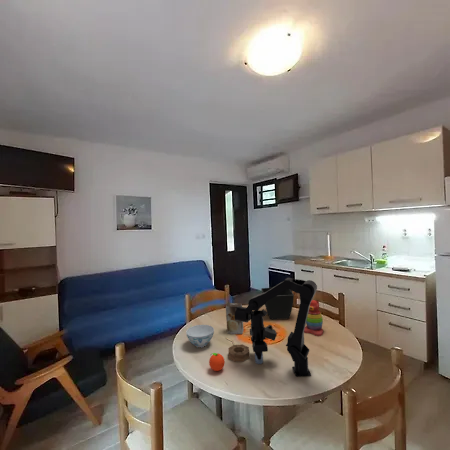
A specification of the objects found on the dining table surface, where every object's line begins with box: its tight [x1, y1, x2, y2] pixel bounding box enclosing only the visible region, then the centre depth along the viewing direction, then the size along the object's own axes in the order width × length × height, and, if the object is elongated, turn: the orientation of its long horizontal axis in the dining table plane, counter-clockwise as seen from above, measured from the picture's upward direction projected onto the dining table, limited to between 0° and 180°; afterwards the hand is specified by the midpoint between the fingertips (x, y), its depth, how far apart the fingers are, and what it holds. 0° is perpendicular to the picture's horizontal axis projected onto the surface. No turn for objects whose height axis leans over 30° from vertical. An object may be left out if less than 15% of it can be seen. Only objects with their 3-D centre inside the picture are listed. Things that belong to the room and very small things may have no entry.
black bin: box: [261, 287, 295, 320], centre depth 172 cm, size 19×19×17 cm
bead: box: [227, 344, 251, 363], centre depth 125 cm, size 10×10×3 cm
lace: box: [225, 337, 236, 346], centre depth 137 cm, size 15×3×1 cm, turn 20°
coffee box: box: [225, 302, 245, 335], centre depth 152 cm, size 9×6×16 cm
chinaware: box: [185, 324, 215, 348], centre depth 138 cm, size 15×15×8 cm
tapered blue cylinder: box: [254, 352, 264, 365], centre depth 119 cm, size 4×4×9 cm
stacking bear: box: [304, 299, 324, 337], centre depth 147 cm, size 11×10×18 cm
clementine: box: [208, 352, 226, 372], centre depth 115 cm, size 8×7×7 cm
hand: (258, 357), depth 119 cm, fingers closed on tapered blue cylinder, 4 cm apart
